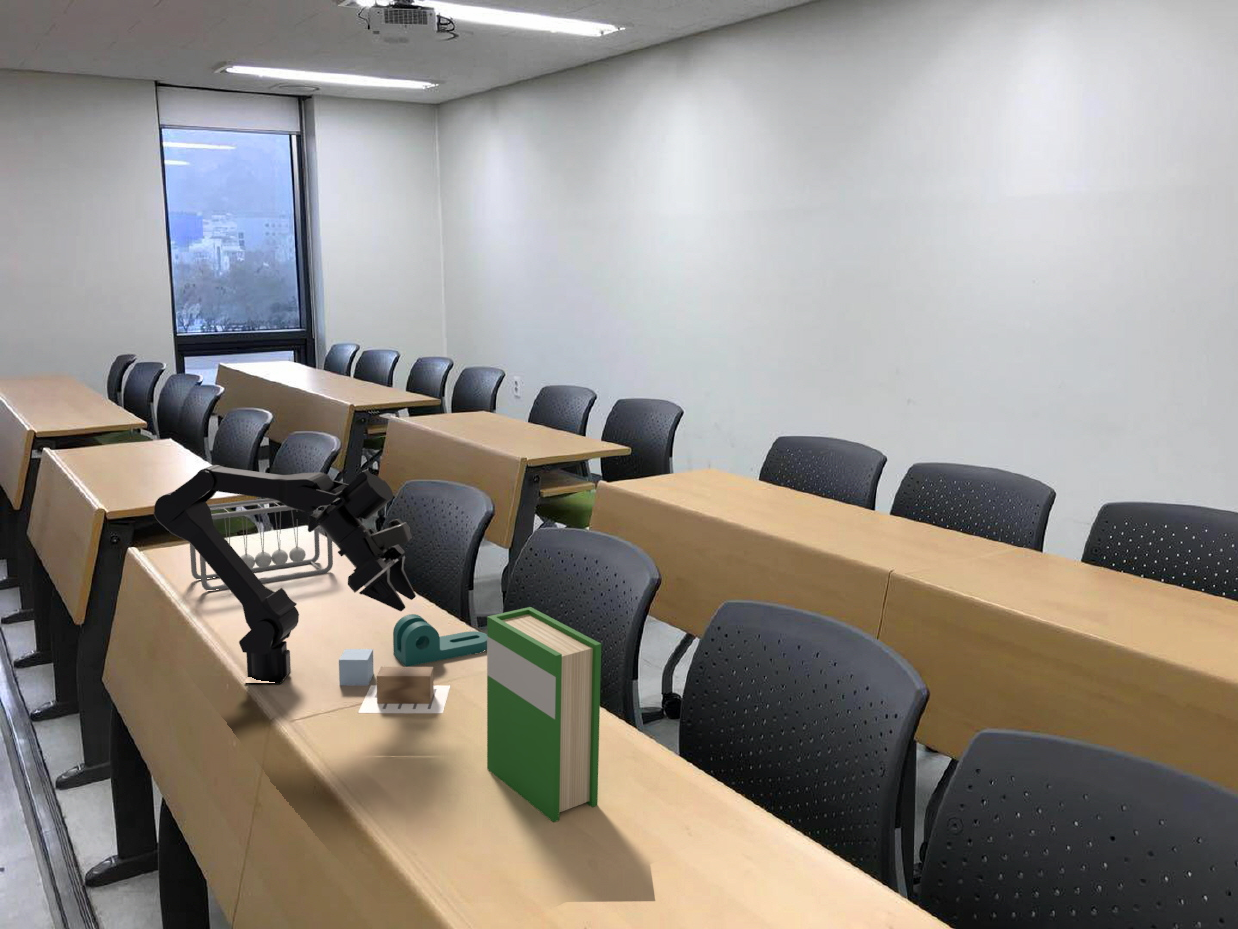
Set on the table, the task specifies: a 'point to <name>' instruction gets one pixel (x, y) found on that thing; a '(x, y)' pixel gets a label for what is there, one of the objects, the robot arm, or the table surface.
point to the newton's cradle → (263, 557)
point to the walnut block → (405, 685)
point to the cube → (356, 667)
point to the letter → (435, 706)
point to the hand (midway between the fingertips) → (408, 603)
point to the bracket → (431, 642)
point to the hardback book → (543, 710)
